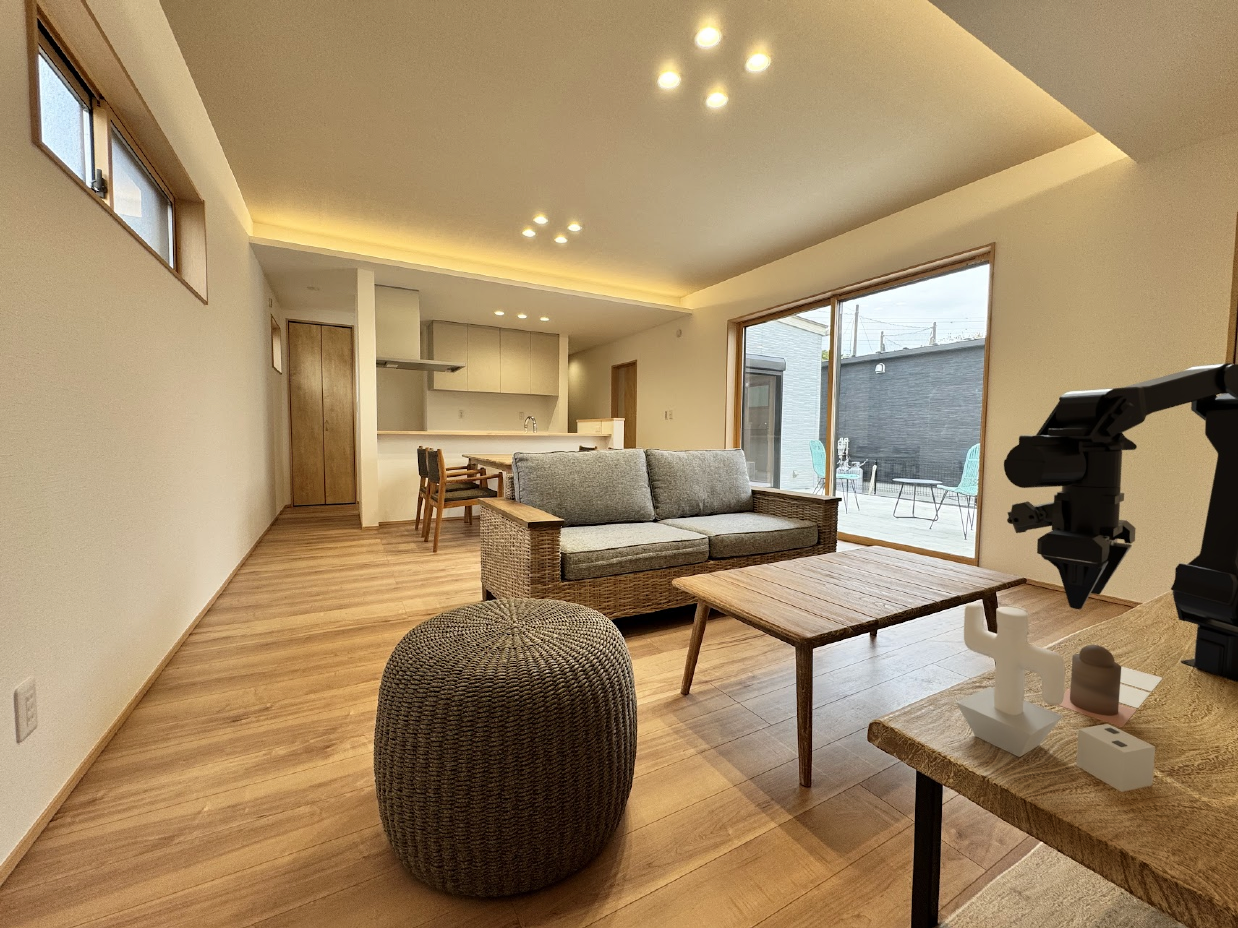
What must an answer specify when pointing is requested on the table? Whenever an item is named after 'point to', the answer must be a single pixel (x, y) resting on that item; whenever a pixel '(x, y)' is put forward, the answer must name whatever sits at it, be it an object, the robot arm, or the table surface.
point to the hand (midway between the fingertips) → (1085, 600)
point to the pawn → (1095, 681)
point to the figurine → (1011, 682)
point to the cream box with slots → (1115, 757)
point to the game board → (1122, 696)
